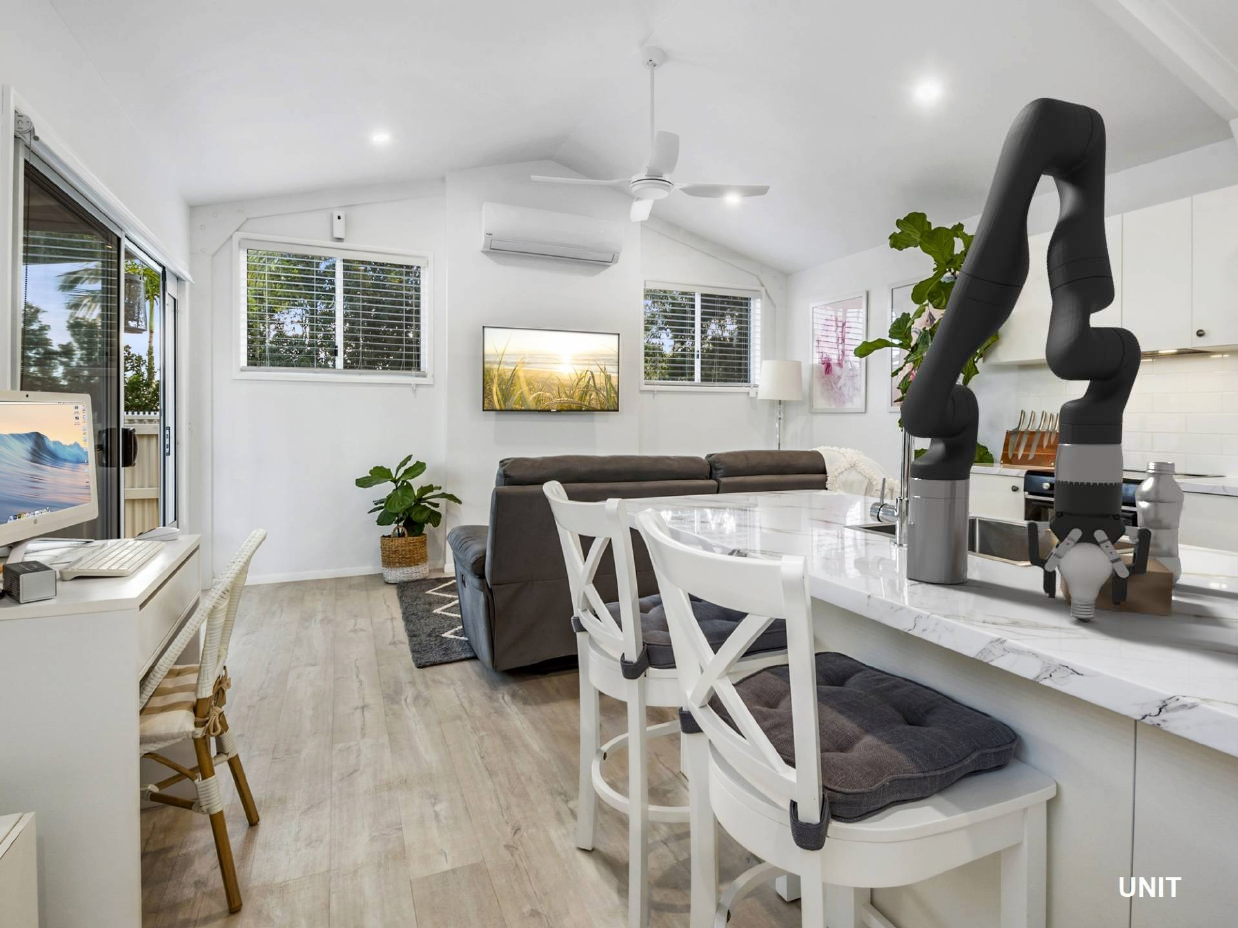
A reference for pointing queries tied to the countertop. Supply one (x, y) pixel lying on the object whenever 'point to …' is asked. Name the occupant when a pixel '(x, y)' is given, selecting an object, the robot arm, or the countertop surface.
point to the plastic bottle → (1161, 513)
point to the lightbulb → (1084, 577)
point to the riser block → (1137, 590)
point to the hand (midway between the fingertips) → (1083, 600)
